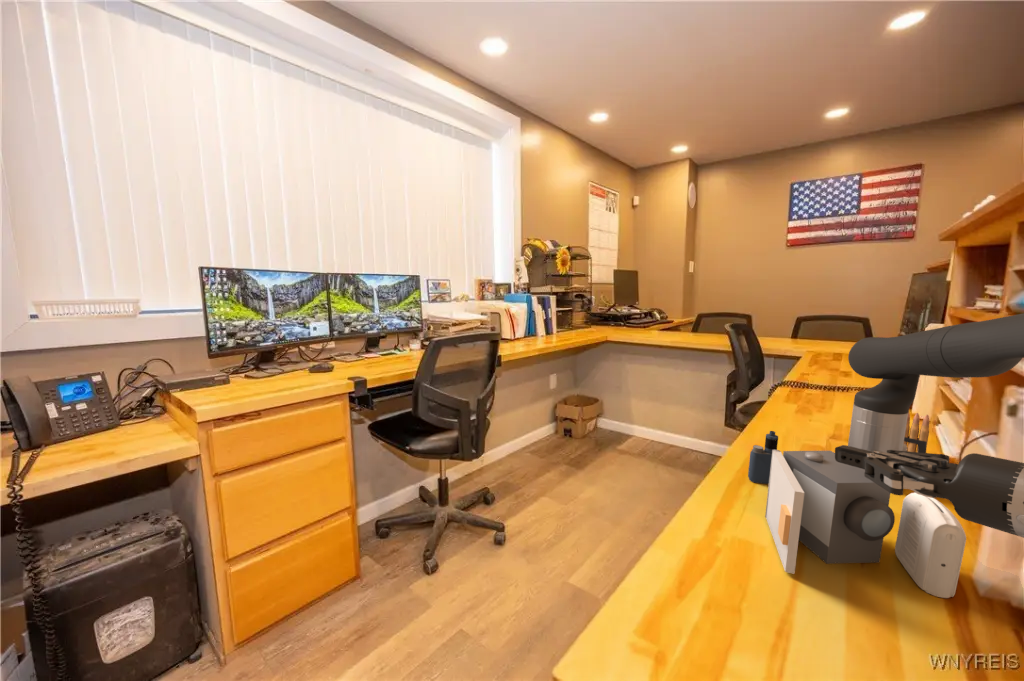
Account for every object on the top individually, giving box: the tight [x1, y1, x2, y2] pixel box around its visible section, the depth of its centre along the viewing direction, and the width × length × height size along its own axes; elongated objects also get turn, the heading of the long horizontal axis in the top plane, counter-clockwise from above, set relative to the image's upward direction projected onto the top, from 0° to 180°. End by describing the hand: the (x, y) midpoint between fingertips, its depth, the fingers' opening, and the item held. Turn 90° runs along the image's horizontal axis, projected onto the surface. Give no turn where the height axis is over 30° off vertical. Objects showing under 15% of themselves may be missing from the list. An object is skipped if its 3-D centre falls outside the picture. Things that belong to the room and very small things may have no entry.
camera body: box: [782, 450, 896, 564], centre depth 70 cm, size 9×14×15 cm, turn 2°
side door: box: [764, 449, 804, 575], centre depth 70 cm, size 2×17×14 cm, turn 157°
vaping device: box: [747, 430, 779, 485], centre depth 92 cm, size 3×5×12 cm, turn 78°
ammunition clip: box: [904, 411, 930, 453], centre depth 108 cm, size 11×2×12 cm, turn 41°
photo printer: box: [894, 492, 967, 599], centre depth 62 cm, size 10×4×12 cm, turn 156°
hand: (837, 452), depth 57 cm, fingers closed
